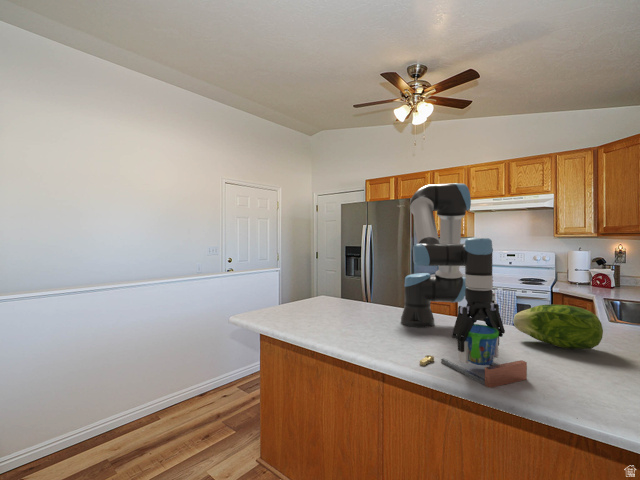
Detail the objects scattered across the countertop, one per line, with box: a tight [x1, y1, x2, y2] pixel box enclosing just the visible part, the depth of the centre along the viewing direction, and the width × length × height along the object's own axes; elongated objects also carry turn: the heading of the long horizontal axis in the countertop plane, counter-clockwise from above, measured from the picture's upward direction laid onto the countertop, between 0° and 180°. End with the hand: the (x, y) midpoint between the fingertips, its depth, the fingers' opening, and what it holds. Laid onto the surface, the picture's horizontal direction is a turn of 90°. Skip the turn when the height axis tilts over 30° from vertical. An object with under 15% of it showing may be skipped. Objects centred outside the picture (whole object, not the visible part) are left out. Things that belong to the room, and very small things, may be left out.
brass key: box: [419, 354, 435, 367], centre depth 102 cm, size 7×3×1 cm, turn 135°
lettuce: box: [512, 304, 604, 350], centre depth 117 cm, size 15×27×16 cm, turn 53°
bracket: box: [440, 358, 528, 389], centre depth 96 cm, size 14×18×5 cm
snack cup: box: [465, 323, 500, 366], centre depth 96 cm, size 16×10×10 cm
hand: (478, 359), depth 97 cm, fingers closed on snack cup, 11 cm apart
